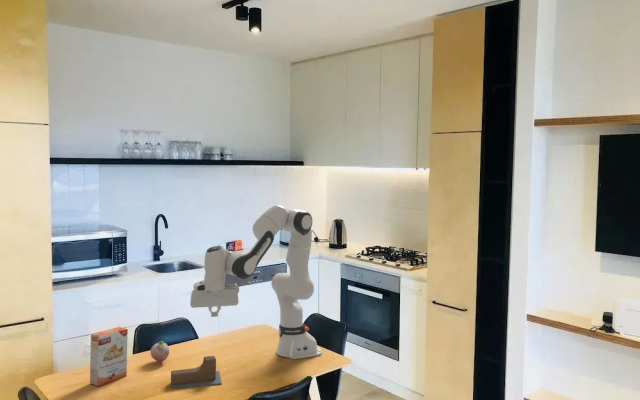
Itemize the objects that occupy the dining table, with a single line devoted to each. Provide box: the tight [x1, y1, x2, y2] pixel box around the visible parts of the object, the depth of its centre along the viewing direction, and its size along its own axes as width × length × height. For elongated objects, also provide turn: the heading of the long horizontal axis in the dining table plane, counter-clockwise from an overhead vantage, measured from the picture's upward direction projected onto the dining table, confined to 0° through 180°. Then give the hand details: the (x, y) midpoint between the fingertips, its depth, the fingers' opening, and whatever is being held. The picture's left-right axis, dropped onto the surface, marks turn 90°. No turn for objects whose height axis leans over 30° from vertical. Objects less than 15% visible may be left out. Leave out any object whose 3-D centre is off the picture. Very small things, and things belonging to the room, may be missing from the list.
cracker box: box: [89, 326, 129, 387], centre depth 212 cm, size 14×6×21 cm, turn 148°
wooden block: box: [170, 355, 217, 386], centre depth 213 cm, size 9×4×18 cm
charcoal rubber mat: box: [171, 370, 223, 390], centre depth 215 cm, size 20×13×1 cm, turn 106°
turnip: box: [150, 340, 170, 363], centre depth 234 cm, size 9×8×10 cm
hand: (214, 316), depth 217 cm, fingers closed
